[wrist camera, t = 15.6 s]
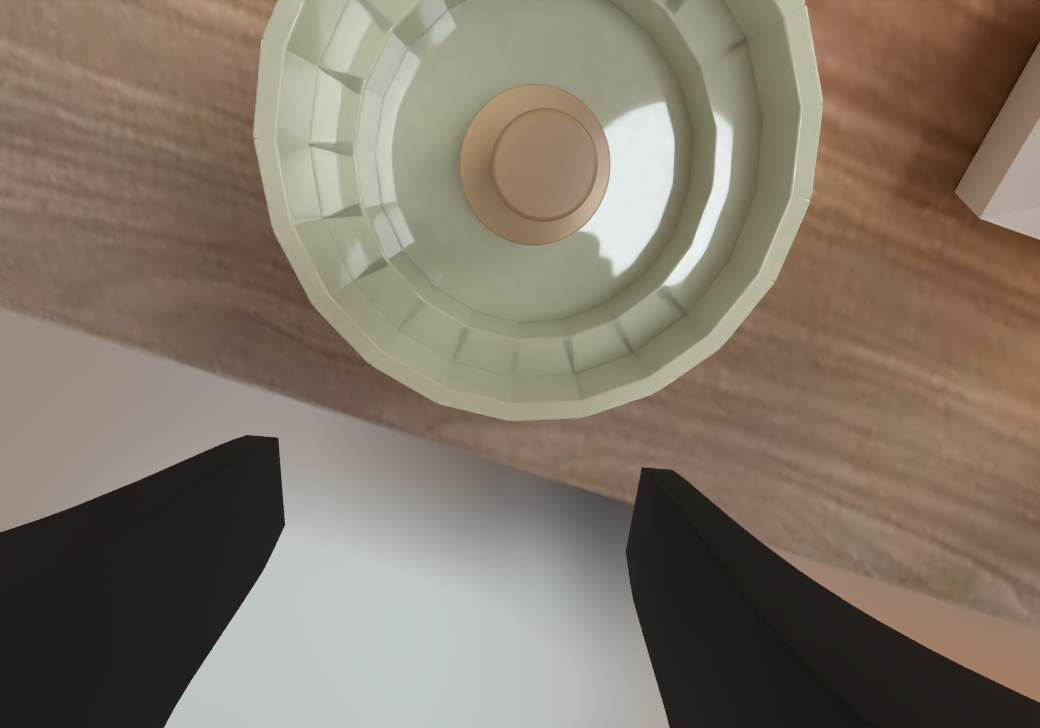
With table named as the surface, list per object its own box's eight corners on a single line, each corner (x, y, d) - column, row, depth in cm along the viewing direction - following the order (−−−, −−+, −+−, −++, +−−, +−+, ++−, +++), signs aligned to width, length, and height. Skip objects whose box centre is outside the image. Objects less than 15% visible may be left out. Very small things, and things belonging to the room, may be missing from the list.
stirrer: (443, 189, 18) (344, 212, 8) (513, 65, 17) (497, -86, 7) (551, 260, 19) (580, 360, 9) (626, 147, 17) (757, 118, 8)
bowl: (258, 231, 19) (171, 252, 14) (461, -204, 15) (431, -378, 10) (582, 426, 22) (598, 497, 17) (832, 101, 17) (946, 76, 13)
